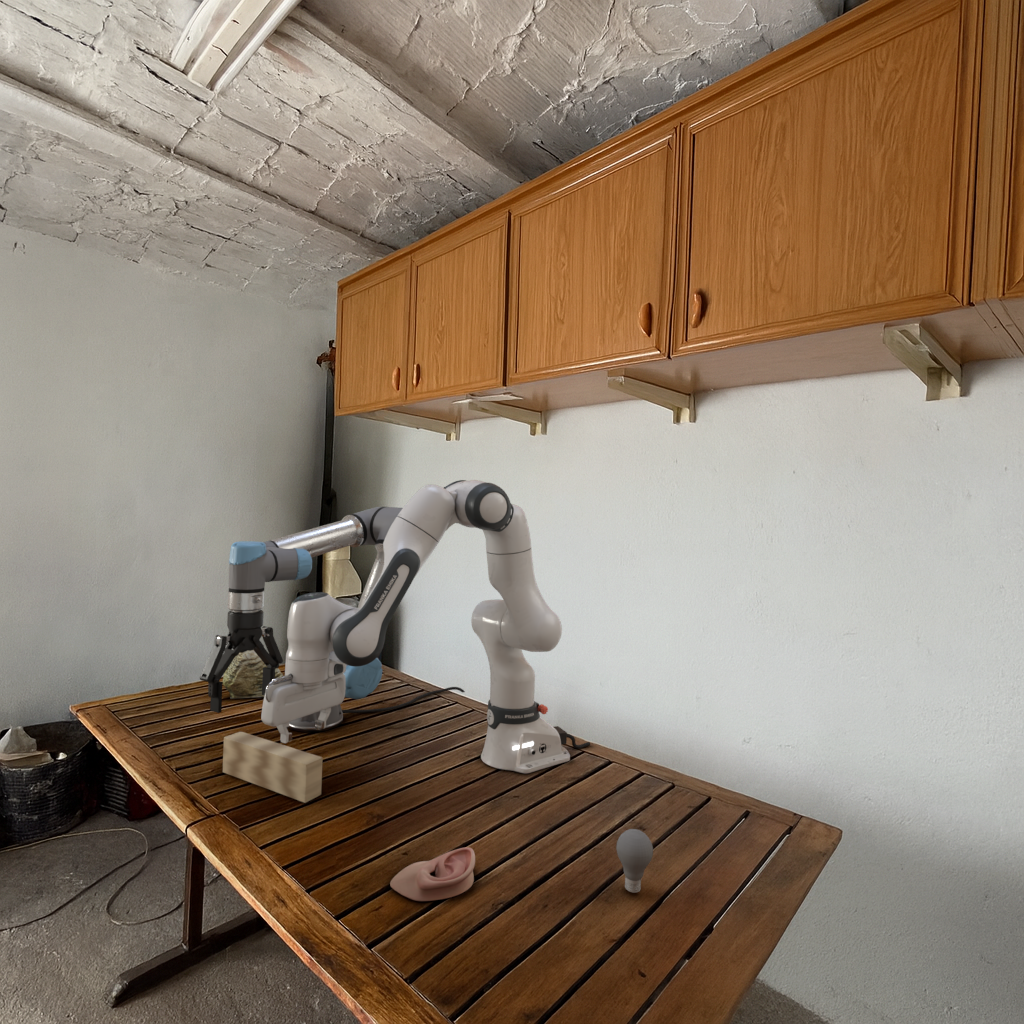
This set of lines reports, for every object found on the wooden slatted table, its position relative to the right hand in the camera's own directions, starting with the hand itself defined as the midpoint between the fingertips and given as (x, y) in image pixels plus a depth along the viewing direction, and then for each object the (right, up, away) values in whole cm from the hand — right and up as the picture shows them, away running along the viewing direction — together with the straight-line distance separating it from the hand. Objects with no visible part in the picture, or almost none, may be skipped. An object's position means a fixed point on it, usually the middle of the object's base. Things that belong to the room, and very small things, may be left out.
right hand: (303, 735), depth 134 cm
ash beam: (-9, -12, +5) cm, 16 cm away
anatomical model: (+31, -15, -28) cm, 44 cm away
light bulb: (+64, -16, -28) cm, 72 cm away
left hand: (-17, +4, +10) cm, 20 cm away
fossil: (-37, -10, +64) cm, 75 cm away
